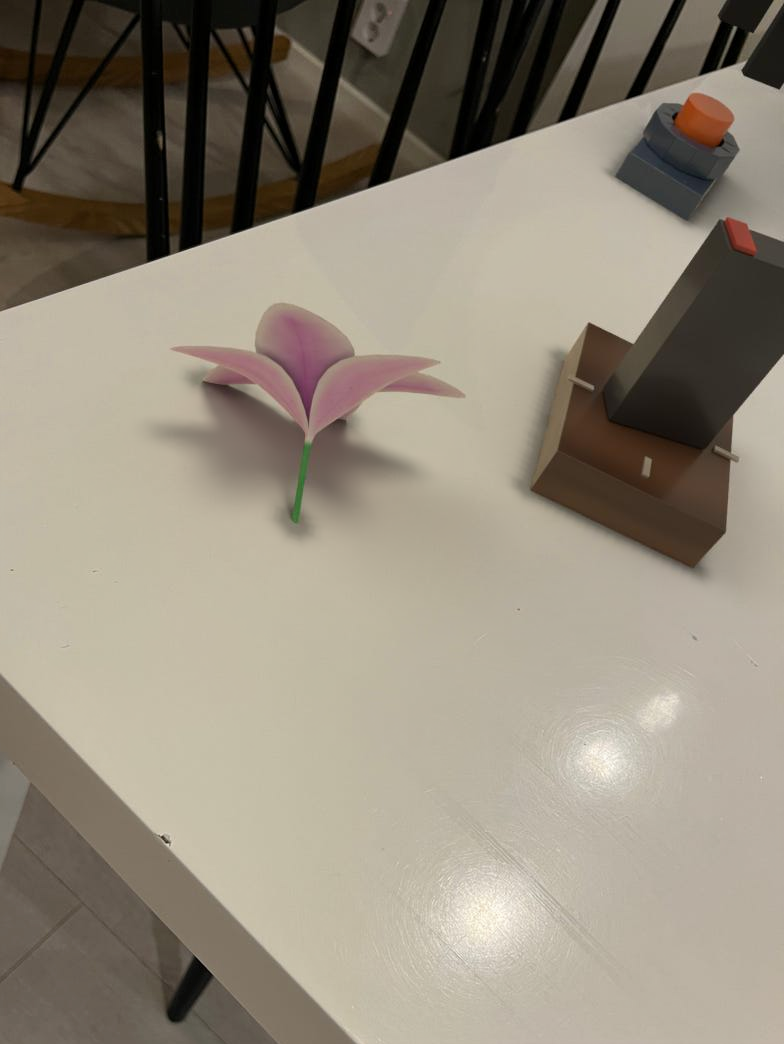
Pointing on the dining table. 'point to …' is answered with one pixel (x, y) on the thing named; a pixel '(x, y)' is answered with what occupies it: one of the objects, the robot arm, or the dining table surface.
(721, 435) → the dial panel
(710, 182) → the button box
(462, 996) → the dining table surface
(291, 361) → the lily
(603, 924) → the dining table surface
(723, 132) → the button
